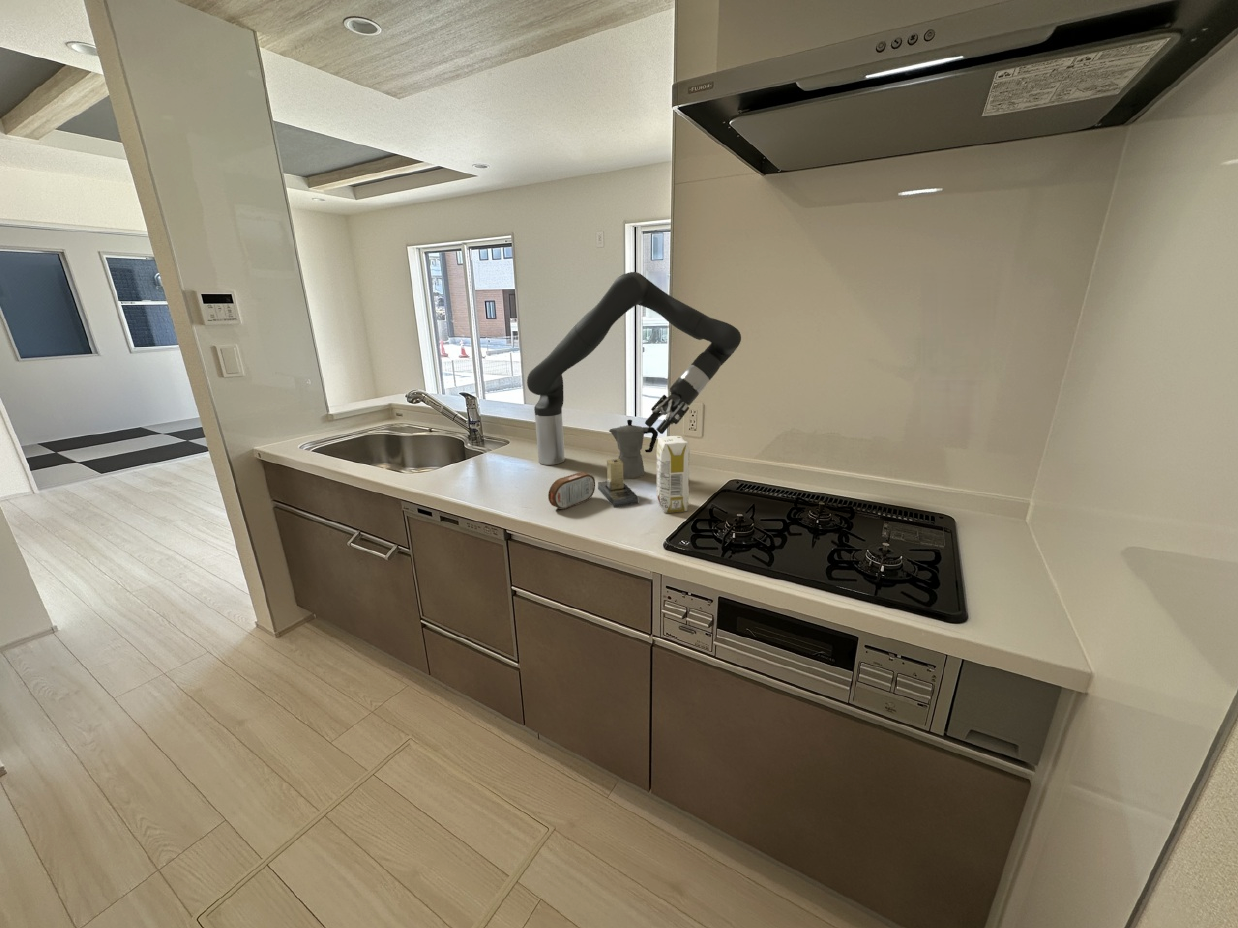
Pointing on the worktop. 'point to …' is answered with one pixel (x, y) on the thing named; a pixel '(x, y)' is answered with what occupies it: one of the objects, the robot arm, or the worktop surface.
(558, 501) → the tin
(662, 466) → the juice carton
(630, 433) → the coffeepot
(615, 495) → the grey base with slots
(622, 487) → the wooden post with button
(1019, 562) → the worktop surface
